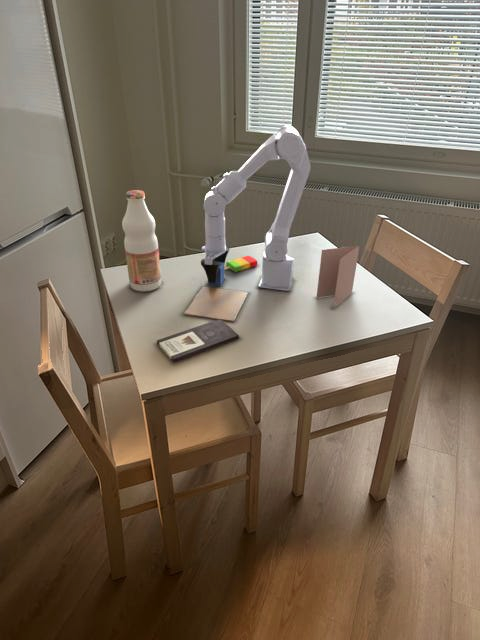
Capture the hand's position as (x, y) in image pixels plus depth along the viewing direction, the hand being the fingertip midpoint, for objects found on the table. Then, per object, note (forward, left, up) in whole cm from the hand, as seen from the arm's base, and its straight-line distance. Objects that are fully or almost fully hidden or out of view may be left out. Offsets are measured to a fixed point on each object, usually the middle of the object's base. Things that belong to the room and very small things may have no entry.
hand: (215, 276), depth 138 cm
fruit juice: (+20, +7, -2) cm, 21 cm away
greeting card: (-37, +1, -2) cm, 37 cm away
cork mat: (-4, +12, -2) cm, 13 cm away
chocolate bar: (-5, +31, -2) cm, 31 cm away
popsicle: (-3, -11, -2) cm, 12 cm away
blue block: (0, 0, -2) cm, 2 cm away
